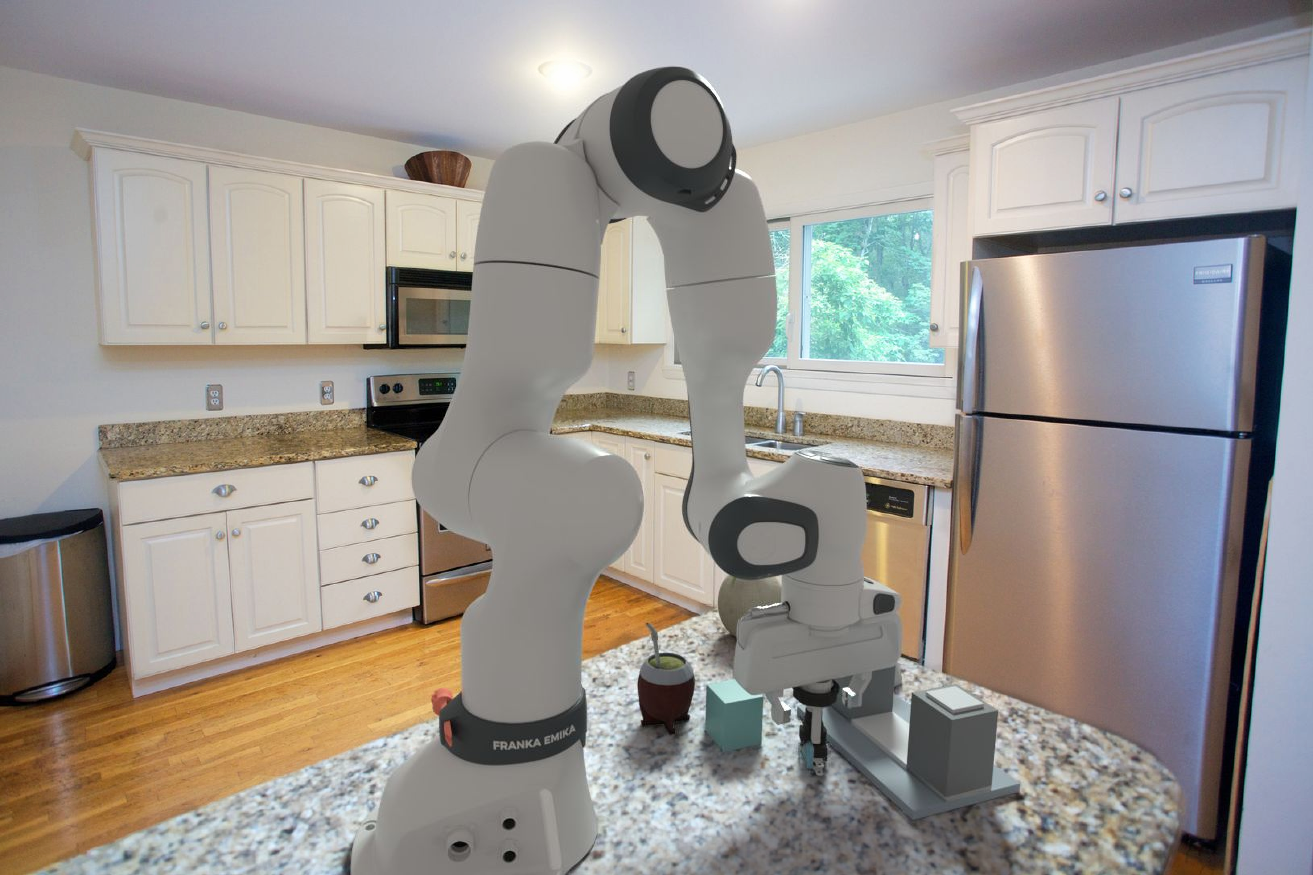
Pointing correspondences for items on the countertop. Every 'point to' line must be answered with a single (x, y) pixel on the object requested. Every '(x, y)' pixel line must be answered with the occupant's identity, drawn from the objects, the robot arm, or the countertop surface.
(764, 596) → the fruit
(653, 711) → the mate gourd
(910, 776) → the gray block stand
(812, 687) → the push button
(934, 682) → the countertop surface
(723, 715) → the block
